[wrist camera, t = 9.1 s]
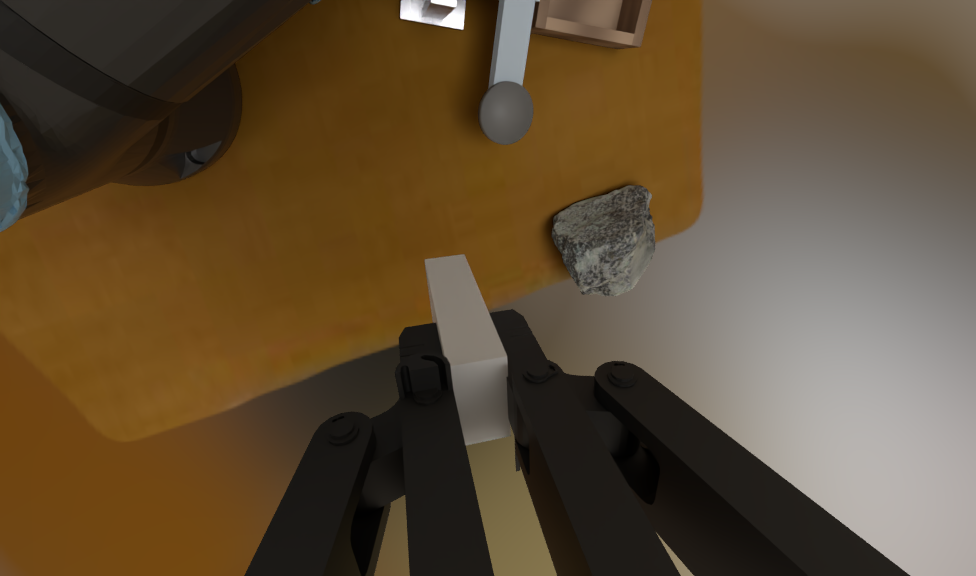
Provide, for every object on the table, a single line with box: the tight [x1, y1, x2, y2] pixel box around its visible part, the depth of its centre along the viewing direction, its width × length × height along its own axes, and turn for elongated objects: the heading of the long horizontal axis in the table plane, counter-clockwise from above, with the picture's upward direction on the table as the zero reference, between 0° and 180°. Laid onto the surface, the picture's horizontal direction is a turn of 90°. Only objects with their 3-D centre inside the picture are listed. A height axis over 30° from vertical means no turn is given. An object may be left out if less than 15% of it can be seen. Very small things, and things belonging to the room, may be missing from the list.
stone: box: [552, 185, 655, 296], centre depth 43 cm, size 10×10×10 cm
